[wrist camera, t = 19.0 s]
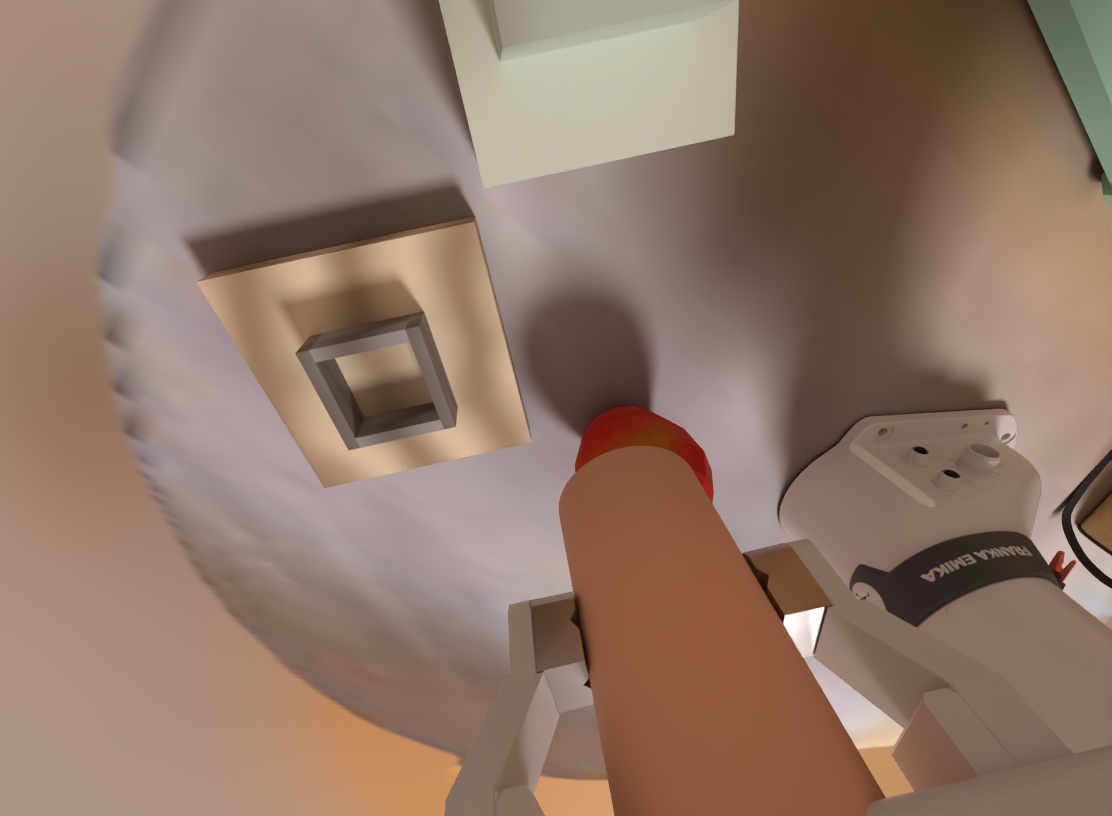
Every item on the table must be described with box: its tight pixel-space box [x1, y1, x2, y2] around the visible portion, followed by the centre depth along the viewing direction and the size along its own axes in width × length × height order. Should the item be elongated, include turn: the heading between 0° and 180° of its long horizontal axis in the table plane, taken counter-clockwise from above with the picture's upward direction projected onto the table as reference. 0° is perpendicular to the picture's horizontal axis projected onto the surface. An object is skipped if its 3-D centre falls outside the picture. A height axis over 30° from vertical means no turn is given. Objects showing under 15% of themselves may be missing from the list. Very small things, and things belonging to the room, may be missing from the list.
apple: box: [575, 406, 714, 502], centre depth 32 cm, size 9×9×12 cm
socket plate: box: [197, 216, 532, 488], centre depth 30 cm, size 16×16×4 cm
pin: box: [559, 446, 885, 816], centre depth 10 cm, size 4×4×8 cm
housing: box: [439, 0, 739, 188], centre depth 19 cm, size 12×12×11 cm
